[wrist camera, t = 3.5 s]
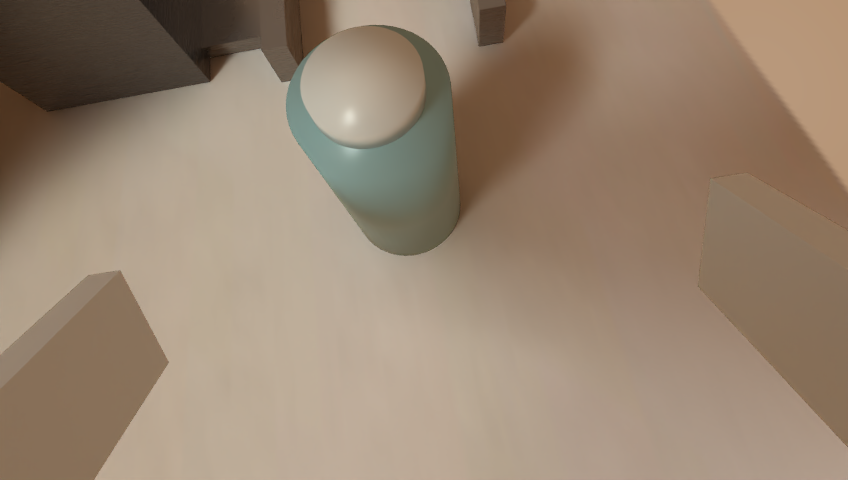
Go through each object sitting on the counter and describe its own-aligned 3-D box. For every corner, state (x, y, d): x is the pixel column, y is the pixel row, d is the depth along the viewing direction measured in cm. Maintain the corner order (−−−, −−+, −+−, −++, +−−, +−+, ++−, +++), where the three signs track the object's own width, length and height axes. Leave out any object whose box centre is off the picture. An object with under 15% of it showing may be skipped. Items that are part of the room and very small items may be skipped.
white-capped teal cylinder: (342, 240, 23) (248, 136, 13) (375, 147, 24) (311, -8, 14) (443, 267, 22) (419, 178, 12) (472, 170, 23) (471, 22, 14)
